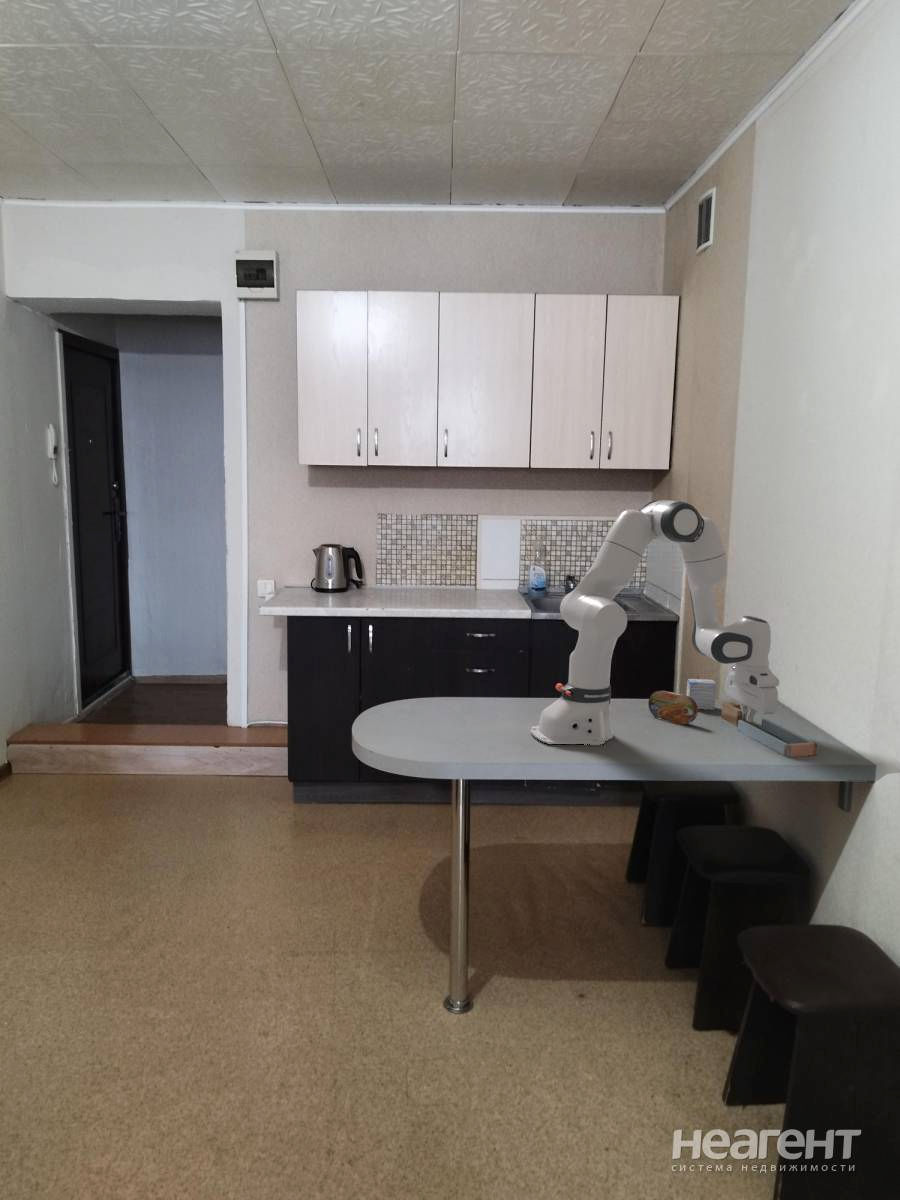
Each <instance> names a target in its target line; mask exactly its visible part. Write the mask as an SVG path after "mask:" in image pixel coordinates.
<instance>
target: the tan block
mask: <svg viewBox="0 0 900 1200" xmlns="http://www.w3.org/2000/svg"><path fill="white" fill-rule="evenodd" d="M740 704H741V703H739V702H737V701H735V702H734V701H733V702H722V703H721V714H720V715H721V717H722V718H721V717H720V718H721V719H723V718H724V719H723V720H725V721H726V720H727V721H726V722H728V723H730V724H732V725H734V726H735V725H736V727H738V720H742V721H744V722H746V723H748V724H750V725H752V726H753V722H748V721H746V720H744V719H742V710H741V707H740Z"/></svg>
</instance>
